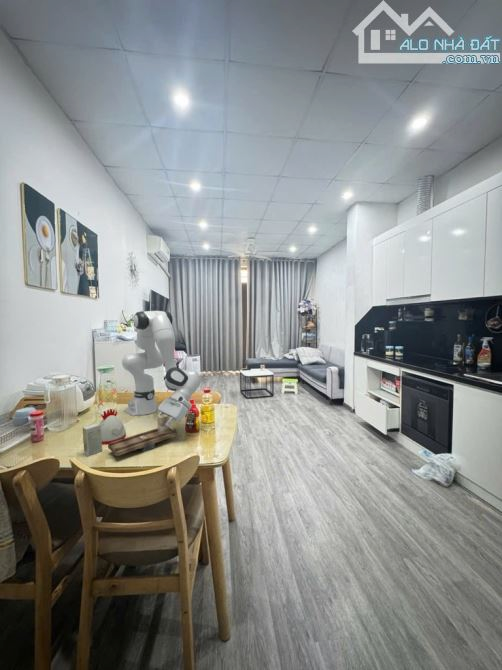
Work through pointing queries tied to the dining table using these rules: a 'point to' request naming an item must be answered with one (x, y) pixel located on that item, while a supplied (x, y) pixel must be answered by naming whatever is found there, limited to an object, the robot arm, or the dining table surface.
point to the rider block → (162, 423)
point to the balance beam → (140, 441)
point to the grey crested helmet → (111, 428)
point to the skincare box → (92, 439)
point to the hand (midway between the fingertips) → (162, 423)
